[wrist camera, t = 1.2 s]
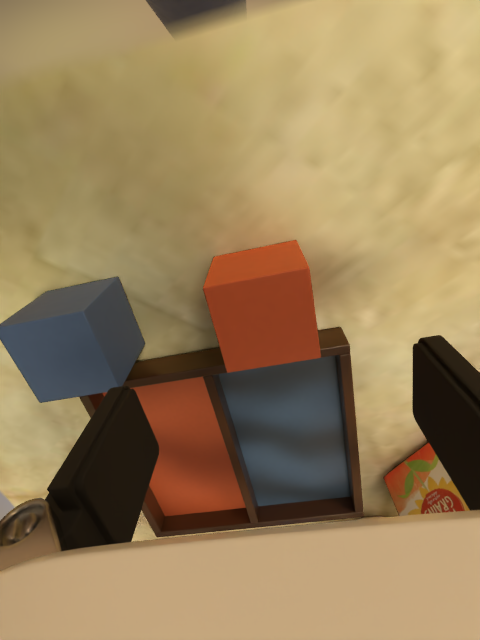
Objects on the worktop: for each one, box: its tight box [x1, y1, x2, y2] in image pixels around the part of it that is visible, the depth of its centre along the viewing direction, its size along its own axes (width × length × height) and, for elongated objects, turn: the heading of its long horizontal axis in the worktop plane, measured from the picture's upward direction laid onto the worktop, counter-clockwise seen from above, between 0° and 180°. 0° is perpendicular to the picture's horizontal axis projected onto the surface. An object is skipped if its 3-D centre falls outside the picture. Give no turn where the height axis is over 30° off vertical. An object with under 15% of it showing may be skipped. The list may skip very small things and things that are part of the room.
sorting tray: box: [80, 327, 364, 537], centre depth 23 cm, size 15×16×2 cm
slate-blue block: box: [0, 277, 145, 403], centre depth 18 cm, size 4×4×4 cm
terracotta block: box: [203, 240, 321, 373], centre depth 17 cm, size 4×4×4 cm
